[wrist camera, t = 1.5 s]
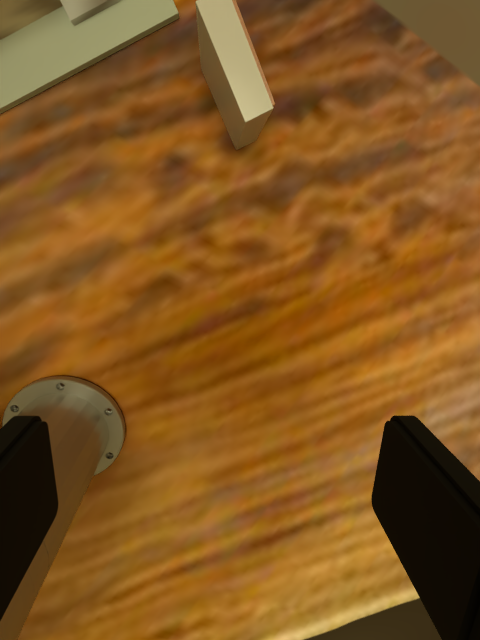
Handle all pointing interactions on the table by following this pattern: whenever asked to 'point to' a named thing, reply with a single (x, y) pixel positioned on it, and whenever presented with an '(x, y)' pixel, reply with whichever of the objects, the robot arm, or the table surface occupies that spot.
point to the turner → (45, 11)
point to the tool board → (72, 45)
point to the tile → (232, 70)
